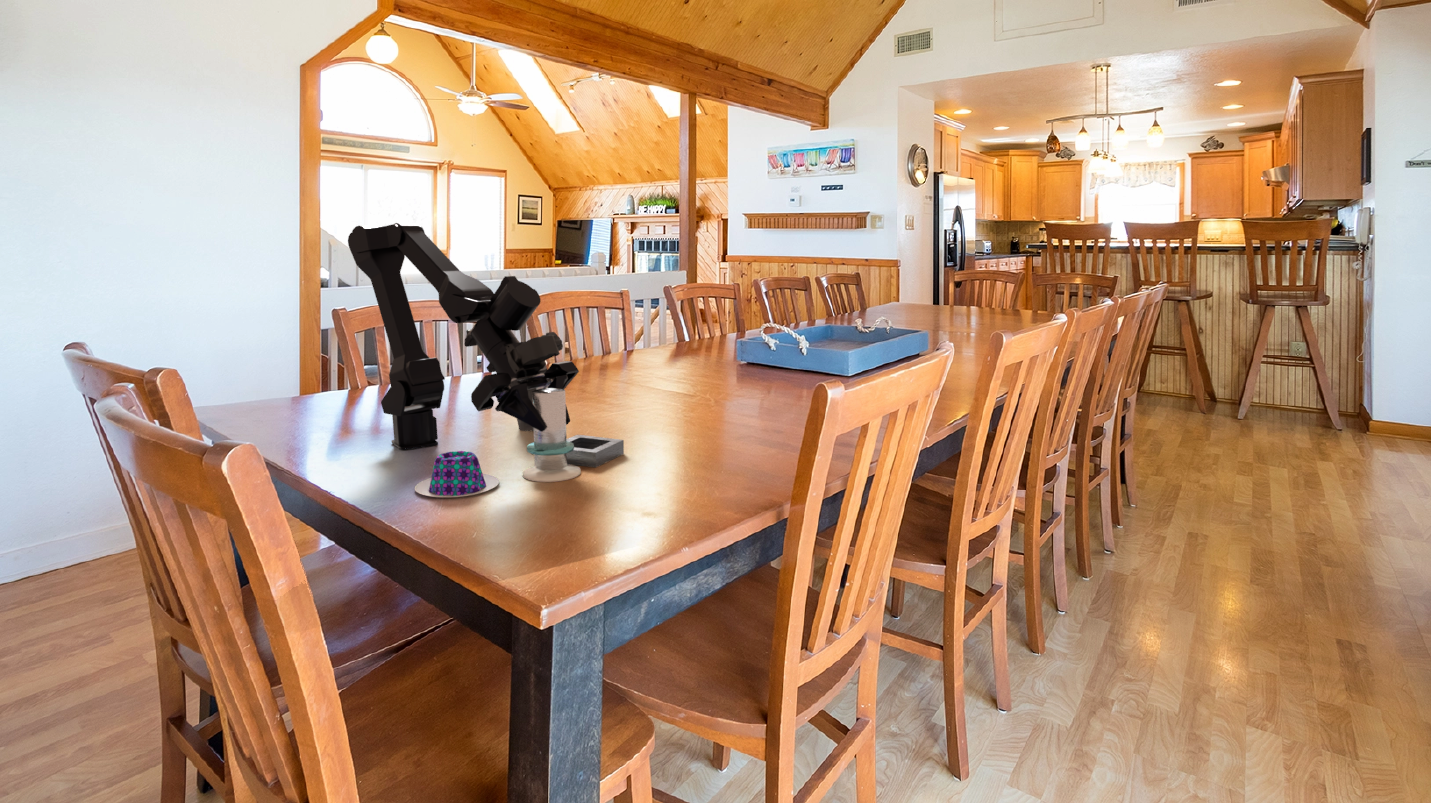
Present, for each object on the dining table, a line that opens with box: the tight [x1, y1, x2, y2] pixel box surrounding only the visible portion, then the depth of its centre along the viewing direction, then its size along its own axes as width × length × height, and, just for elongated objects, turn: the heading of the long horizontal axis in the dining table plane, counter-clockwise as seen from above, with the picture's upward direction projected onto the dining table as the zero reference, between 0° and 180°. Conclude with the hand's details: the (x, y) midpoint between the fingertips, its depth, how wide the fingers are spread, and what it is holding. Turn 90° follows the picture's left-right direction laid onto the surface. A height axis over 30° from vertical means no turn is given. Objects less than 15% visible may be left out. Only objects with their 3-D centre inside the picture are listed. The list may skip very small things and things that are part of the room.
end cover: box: [526, 388, 574, 471], centre depth 123 cm, size 7×7×12 cm
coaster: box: [522, 464, 582, 483], centre depth 124 cm, size 9×9×1 cm
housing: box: [567, 434, 625, 468], centre depth 133 cm, size 9×9×2 cm
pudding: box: [414, 450, 500, 498], centre depth 117 cm, size 12×12×5 cm
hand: (556, 426), depth 122 cm, fingers closed on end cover, 5 cm apart
